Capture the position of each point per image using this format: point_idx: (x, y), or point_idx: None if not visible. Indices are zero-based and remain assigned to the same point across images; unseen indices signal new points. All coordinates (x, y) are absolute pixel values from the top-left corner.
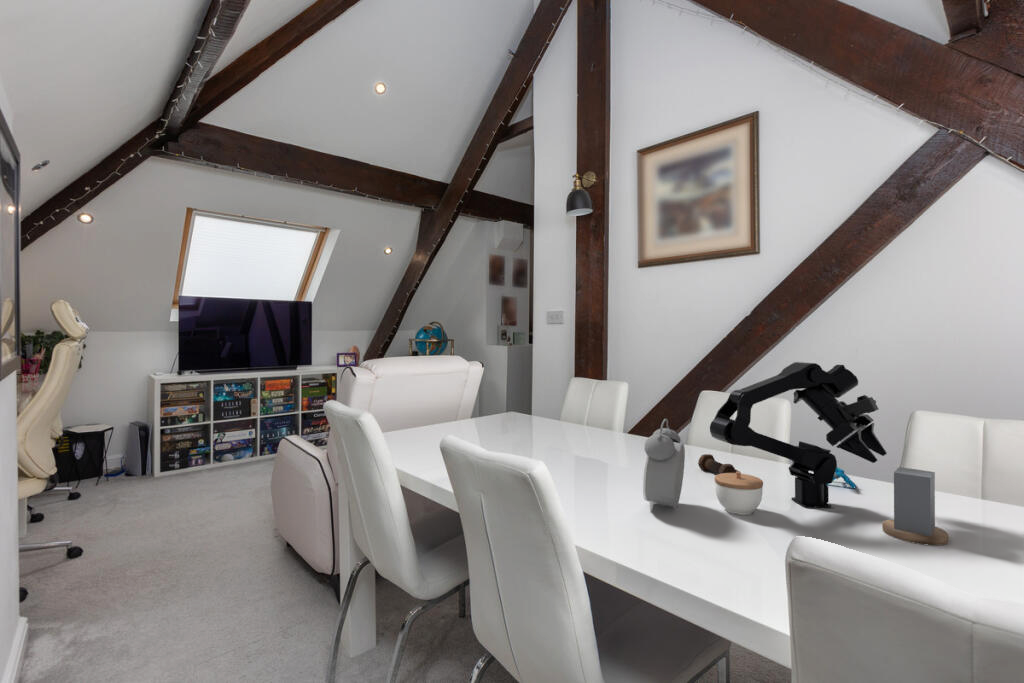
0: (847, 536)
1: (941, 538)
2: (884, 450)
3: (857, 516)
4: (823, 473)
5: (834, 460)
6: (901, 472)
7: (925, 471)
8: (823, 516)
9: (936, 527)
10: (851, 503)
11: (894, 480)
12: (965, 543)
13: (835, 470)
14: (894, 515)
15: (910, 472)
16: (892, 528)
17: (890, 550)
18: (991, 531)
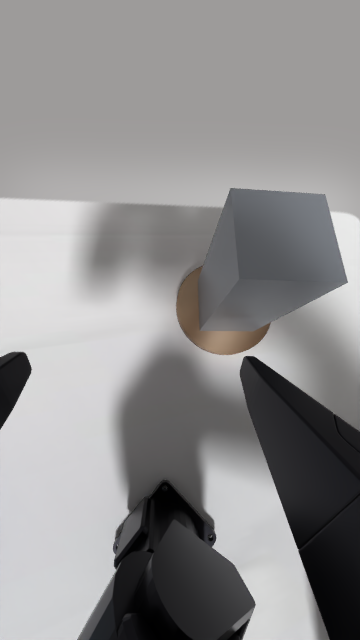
0: (323, 393)
1: None
2: (8, 360)
3: (187, 409)
4: (212, 578)
5: (164, 599)
6: (328, 262)
7: (244, 208)
8: (244, 470)
9: (188, 279)
10: (88, 448)
11: (322, 293)
12: (206, 250)
13: (158, 545)
14: (265, 324)
15: (300, 241)
16: (252, 333)
17: (327, 326)
18: (114, 225)
